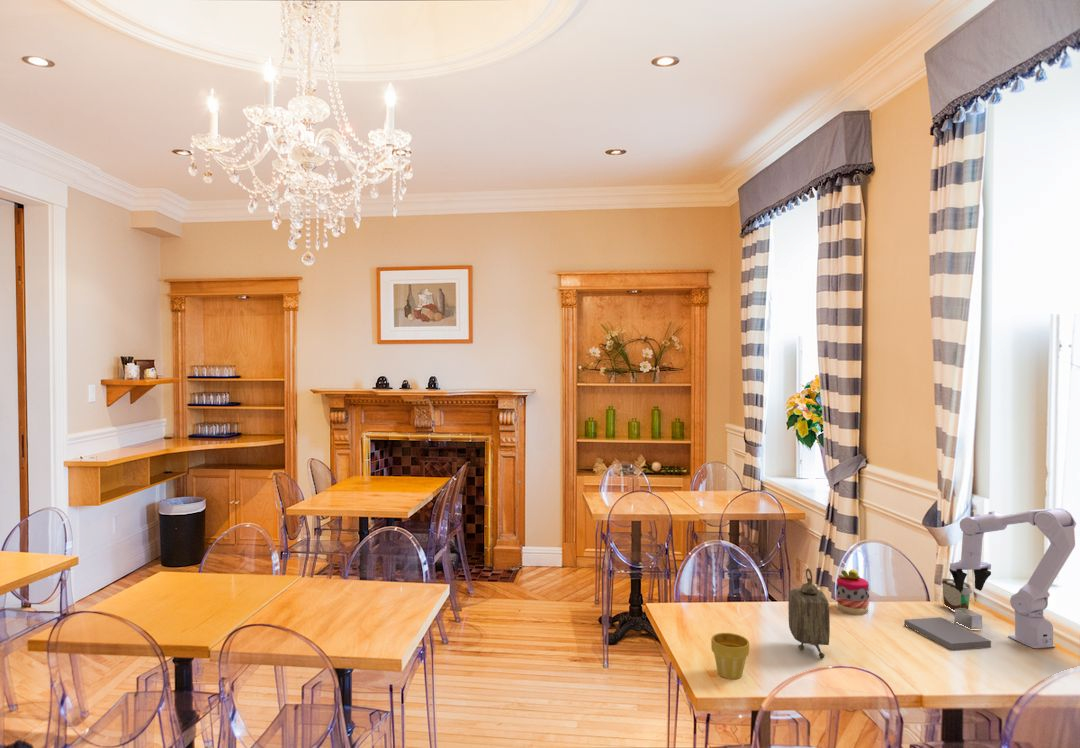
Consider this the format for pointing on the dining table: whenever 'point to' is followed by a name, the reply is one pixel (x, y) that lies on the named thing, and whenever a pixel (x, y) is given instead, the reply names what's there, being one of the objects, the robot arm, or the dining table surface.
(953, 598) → the food container
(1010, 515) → the robot arm
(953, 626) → the grey flat block
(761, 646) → the dining table surface
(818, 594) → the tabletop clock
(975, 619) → the housing
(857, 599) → the cake
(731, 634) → the plant pot
